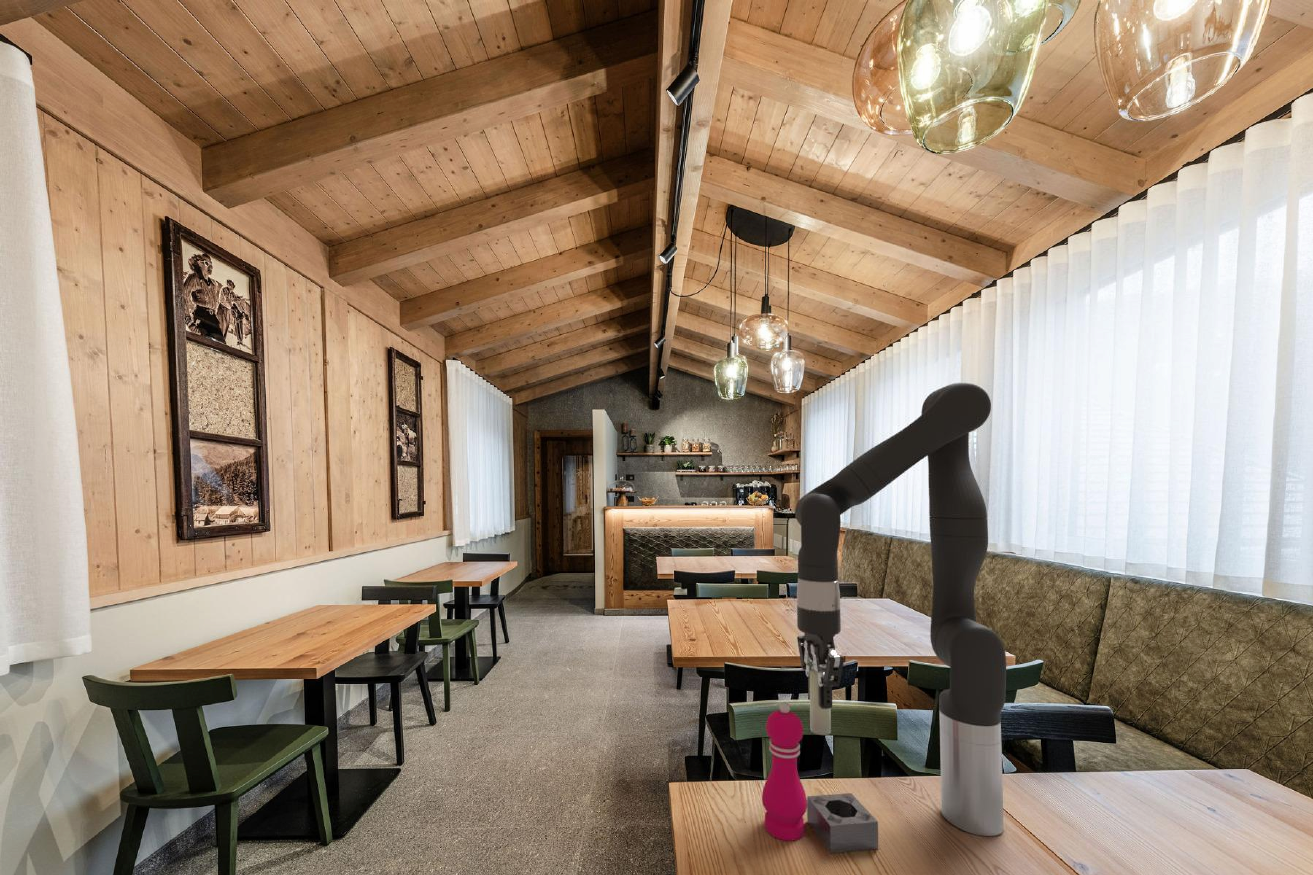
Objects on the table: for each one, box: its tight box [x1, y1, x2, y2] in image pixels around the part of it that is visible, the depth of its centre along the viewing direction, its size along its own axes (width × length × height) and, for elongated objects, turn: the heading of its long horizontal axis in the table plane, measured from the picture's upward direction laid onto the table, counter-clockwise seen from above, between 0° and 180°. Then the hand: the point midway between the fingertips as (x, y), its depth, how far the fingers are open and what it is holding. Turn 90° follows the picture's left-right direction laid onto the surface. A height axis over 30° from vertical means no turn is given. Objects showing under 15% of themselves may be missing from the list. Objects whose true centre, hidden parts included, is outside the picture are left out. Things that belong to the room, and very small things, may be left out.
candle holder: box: [806, 792, 879, 854], centre depth 88 cm, size 8×8×4 cm
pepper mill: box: [761, 701, 807, 842], centre depth 90 cm, size 7×7×20 cm
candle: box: [809, 669, 832, 736], centre depth 97 cm, size 4×4×10 cm
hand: (820, 702), depth 97 cm, fingers closed on candle, 3 cm apart
